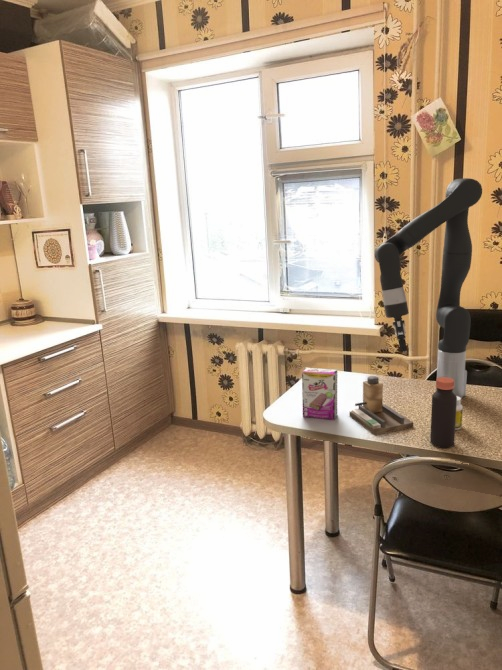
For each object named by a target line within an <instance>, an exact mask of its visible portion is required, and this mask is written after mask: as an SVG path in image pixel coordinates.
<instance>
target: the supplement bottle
mask: <svg viewBox="0 0 502 670" xmlns="http://www.w3.org/2000/svg"><path fill="white" fill-rule="evenodd" d="M456 397H457V405H456V423H455V431H458V430H460V429H462V425H463V413H464V412H463V410H464V406H463V405H462V404H461V403H462V398H460V397H458V396H456Z"/></svg>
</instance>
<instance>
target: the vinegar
mask: <svg viewBox="0 0 502 670" xmlns="http://www.w3.org/2000/svg"><path fill="white" fill-rule="evenodd" d="M435 379H436V380H435V381H436V382H435V391H434V392H433V393H432V395H431V414H430V415H431V417H430V435H429V436H430V439H429V441H430V444H431V445H433V446H434V447H437V448H442V449H447V448H448V449H449V448H452V447H453V446H455V442H456V441H455V437H456V430H455V423H456V405H457V397H456V395H455V394H454V393H453V389H454V380H453V379H452V378H448V377H440V378H437V377H436V378H435ZM436 389H437V391H436Z"/></svg>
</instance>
